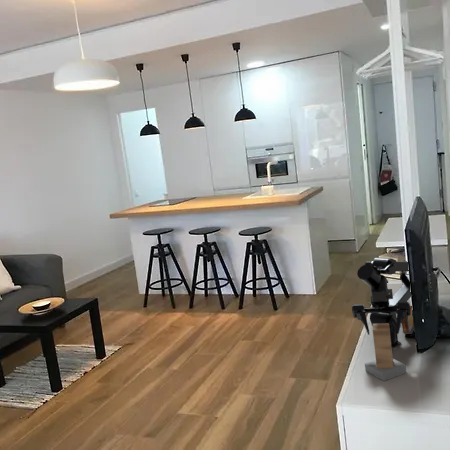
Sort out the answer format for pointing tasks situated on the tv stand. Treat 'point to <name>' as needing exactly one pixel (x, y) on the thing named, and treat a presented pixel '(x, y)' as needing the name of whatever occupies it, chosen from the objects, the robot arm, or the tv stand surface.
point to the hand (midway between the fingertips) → (383, 333)
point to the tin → (407, 323)
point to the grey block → (385, 370)
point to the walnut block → (382, 345)
